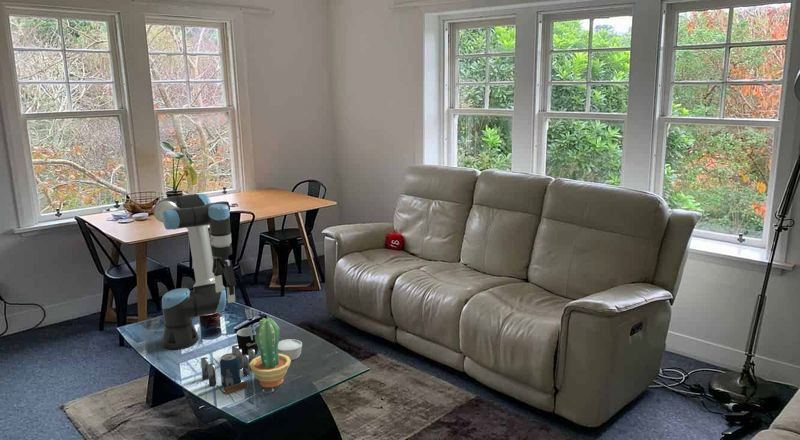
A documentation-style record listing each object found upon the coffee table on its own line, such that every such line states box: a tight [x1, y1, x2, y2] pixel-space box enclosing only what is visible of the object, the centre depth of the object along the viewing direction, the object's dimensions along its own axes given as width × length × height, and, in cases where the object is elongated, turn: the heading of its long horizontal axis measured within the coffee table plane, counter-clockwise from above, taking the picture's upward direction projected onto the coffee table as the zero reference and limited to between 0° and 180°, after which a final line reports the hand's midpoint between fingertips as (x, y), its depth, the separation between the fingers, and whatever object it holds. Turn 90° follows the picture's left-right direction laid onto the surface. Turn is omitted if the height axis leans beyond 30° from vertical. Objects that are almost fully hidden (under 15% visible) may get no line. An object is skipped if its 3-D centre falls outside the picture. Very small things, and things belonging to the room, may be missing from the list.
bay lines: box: [216, 384, 225, 395], centre depth 229 cm, size 7×9×1 cm
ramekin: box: [278, 338, 303, 361], centre depth 253 cm, size 11×11×5 cm
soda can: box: [219, 352, 242, 389], centre depth 227 cm, size 7×7×12 cm
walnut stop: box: [223, 380, 249, 396], centre depth 225 cm, size 1×8×2 cm, turn 125°
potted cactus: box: [249, 317, 292, 388], centre depth 229 cm, size 15×15×25 cm
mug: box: [236, 326, 259, 356], centre depth 255 cm, size 12×9×10 cm
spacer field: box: [200, 344, 256, 387], centre depth 238 cm, size 13×20×8 cm, turn 126°
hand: (225, 296), depth 239 cm, fingers open, 13 cm apart
